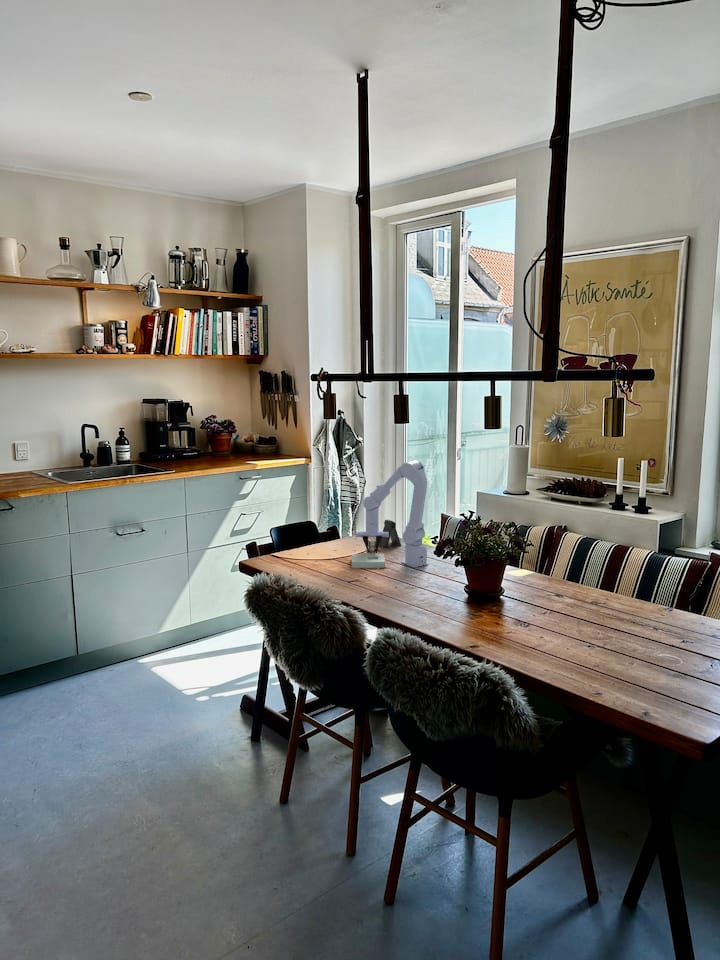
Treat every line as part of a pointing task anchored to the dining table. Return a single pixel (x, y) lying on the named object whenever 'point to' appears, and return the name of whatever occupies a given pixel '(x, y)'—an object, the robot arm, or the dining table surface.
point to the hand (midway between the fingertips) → (372, 552)
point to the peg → (372, 547)
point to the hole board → (368, 561)
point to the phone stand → (390, 535)
